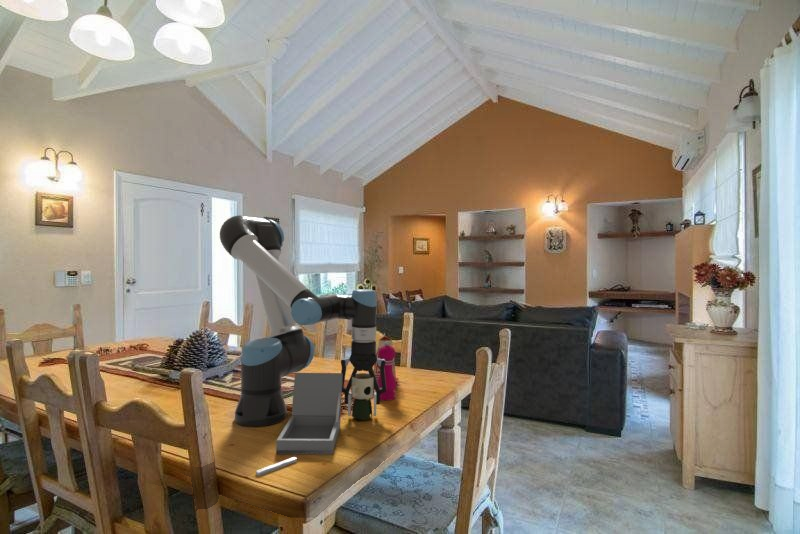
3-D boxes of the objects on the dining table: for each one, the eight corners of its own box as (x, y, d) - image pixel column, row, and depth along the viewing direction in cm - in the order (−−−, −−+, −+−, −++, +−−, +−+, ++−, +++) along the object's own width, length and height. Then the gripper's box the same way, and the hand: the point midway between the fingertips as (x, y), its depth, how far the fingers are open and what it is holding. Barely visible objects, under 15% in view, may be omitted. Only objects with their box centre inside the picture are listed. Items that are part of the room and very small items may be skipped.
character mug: (362, 426, 128) (362, 382, 127) (342, 421, 131) (342, 378, 131) (381, 414, 137) (381, 373, 137) (362, 410, 140) (362, 370, 140)
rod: (258, 477, 98) (258, 472, 98) (255, 475, 99) (255, 470, 99) (296, 463, 105) (296, 458, 105) (294, 461, 106) (294, 456, 106)
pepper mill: (394, 401, 150) (394, 343, 149) (373, 400, 151) (374, 342, 151) (398, 395, 157) (399, 339, 156) (378, 393, 158) (379, 338, 158)
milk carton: (395, 385, 168) (396, 334, 168) (371, 385, 169) (372, 333, 168) (396, 379, 178) (396, 330, 177) (373, 378, 178) (374, 329, 177)
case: (276, 454, 109) (276, 394, 109) (295, 421, 130) (295, 372, 130) (332, 454, 109) (333, 395, 109) (342, 422, 131) (342, 372, 130)
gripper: (329, 342, 129) (327, 418, 130) (396, 343, 130) (394, 419, 130) (332, 337, 137) (331, 409, 138) (396, 338, 137) (394, 410, 138)
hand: (362, 414), depth 134 cm, fingers closed on character mug, 7 cm apart
